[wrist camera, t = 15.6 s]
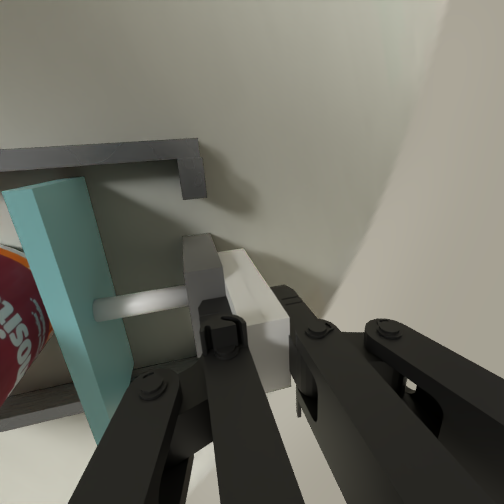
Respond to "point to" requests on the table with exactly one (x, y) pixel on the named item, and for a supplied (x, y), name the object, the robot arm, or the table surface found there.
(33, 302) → the pill bottle
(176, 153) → the grey rail frame
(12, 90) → the table surface
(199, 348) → the pusher plate
